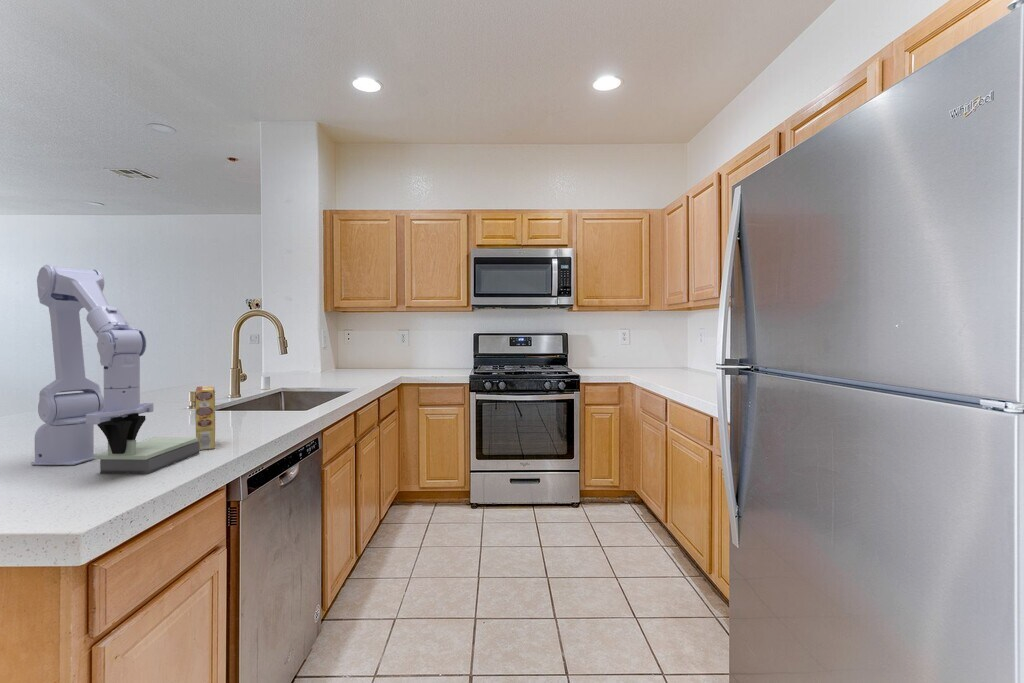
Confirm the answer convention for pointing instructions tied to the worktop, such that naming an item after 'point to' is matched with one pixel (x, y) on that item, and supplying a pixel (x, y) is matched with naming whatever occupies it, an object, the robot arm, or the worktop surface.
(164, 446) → the lid
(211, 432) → the candy box
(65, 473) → the worktop surface
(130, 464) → the tub
